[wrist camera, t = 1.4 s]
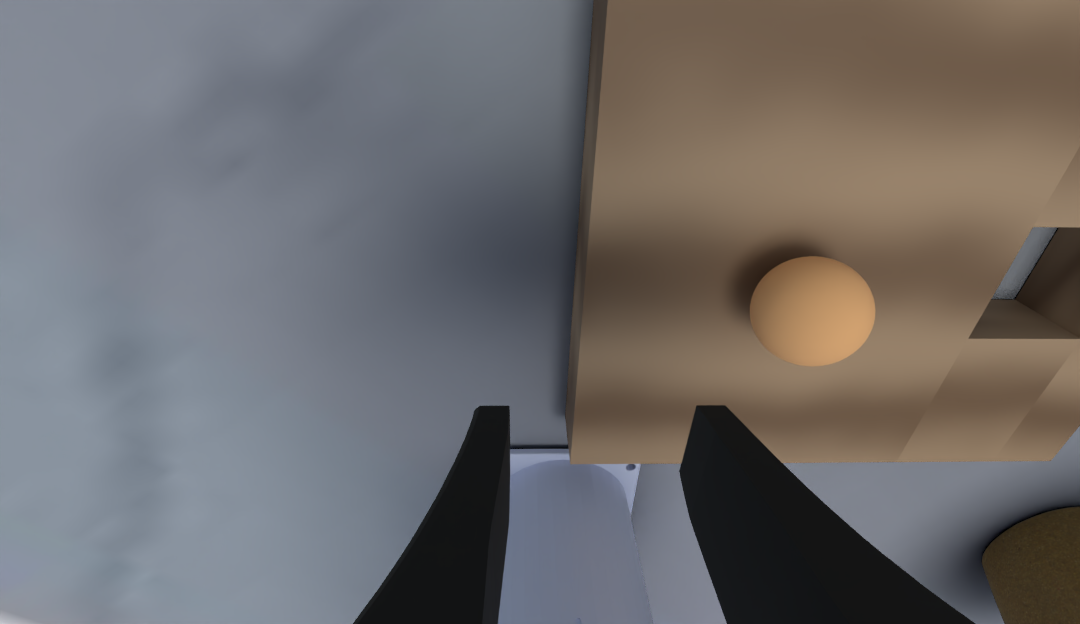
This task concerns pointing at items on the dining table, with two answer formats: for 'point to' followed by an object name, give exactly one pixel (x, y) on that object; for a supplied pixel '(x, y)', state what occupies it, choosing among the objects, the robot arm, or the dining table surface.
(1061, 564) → the plant pot
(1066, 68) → the brown wooden flat block
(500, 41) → the dining table surface
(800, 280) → the ball
